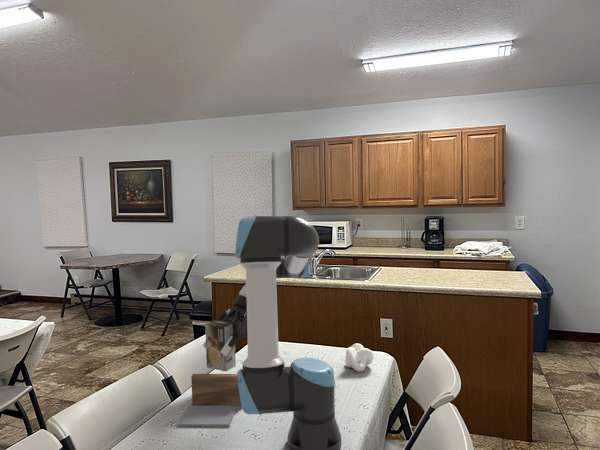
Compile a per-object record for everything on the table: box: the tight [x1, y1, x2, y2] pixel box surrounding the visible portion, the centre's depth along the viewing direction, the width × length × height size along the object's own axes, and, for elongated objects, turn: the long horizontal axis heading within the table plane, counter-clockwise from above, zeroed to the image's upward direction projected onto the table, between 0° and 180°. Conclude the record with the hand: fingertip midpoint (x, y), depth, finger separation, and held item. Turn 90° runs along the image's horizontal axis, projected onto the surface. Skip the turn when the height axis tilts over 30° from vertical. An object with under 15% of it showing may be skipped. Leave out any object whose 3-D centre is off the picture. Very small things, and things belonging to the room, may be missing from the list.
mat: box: [177, 405, 237, 428], centre depth 132 cm, size 11×16×1 cm
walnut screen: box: [191, 373, 242, 406], centre depth 141 cm, size 2×19×10 cm, turn 88°
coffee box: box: [204, 319, 237, 372], centre depth 151 cm, size 9×6×16 cm
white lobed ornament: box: [344, 342, 375, 373], centre depth 169 cm, size 11×12×9 cm
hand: (213, 351), depth 149 cm, fingers closed on coffee box, 10 cm apart
